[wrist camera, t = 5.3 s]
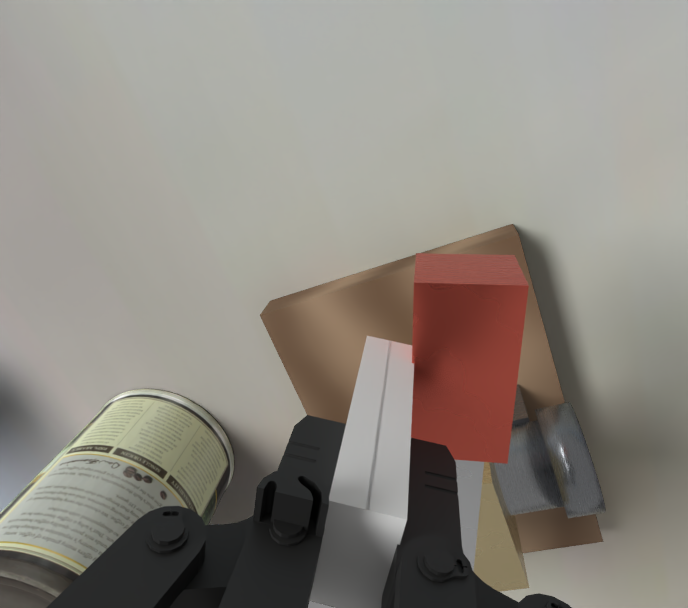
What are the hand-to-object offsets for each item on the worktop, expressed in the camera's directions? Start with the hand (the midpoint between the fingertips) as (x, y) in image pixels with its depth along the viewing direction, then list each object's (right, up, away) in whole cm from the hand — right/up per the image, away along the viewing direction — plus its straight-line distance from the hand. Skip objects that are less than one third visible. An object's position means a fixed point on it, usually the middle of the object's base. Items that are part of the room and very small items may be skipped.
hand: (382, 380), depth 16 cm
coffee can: (-14, -8, +21) cm, 26 cm away
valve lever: (+3, -3, +3) cm, 5 cm away
